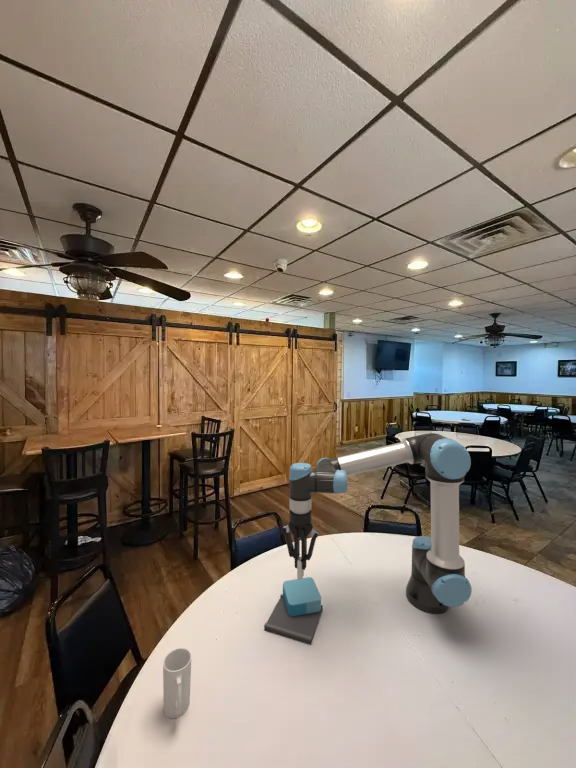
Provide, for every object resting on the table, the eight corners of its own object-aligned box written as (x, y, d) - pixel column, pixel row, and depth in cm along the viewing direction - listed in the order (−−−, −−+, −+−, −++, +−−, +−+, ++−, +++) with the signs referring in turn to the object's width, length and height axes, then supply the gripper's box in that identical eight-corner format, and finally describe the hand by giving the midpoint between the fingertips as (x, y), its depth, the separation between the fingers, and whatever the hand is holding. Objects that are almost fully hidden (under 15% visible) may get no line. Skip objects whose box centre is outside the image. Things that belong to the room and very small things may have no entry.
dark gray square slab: (322, 610, 115) (322, 605, 115) (311, 645, 100) (311, 639, 100) (281, 598, 121) (281, 594, 121) (264, 630, 106) (264, 625, 106)
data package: (322, 611, 112) (312, 587, 124) (322, 599, 112) (312, 576, 124) (289, 617, 110) (282, 592, 121) (289, 605, 109) (281, 581, 121)
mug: (162, 697, 83) (162, 652, 83) (189, 688, 86) (189, 644, 85) (163, 738, 74) (164, 687, 73) (193, 726, 76) (194, 677, 76)
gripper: (321, 507, 110) (321, 575, 111) (286, 502, 115) (286, 567, 115) (316, 516, 103) (316, 588, 104) (278, 511, 108) (278, 580, 108)
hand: (300, 577), depth 110 cm, fingers closed
